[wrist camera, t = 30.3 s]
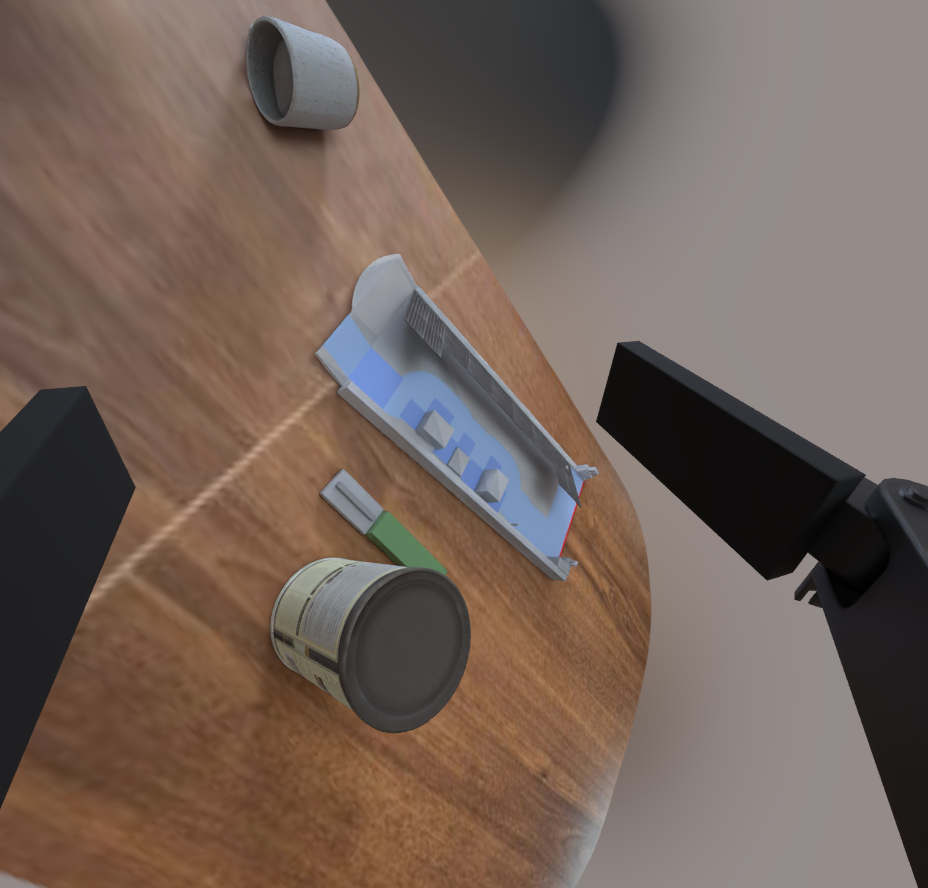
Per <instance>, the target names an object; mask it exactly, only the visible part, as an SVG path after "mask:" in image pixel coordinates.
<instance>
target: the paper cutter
mask: <svg viewBox="0 0 928 888" xmlns="http://www.w3.org/2000/svg"><path fill="white" fill-rule="evenodd" d="M315 355H316V356H317V358H318V359H319V360H320V361H321V363H322V364H323V365H324V366H325V368H326V369H327V370H328V371H329V373H330V374H331V375H332V376H333V378H334V379H335V380H336V381H337V383H338V384H339V385H340V386H341V387H340V389H339V390H338V391H337V392H336V393H337V394H338V395H340V396H341V397H342V398H343V399H344V400H345V401H346V402H348V403H349V404H350V405H351V406H352V407H353V408H355V409H356V410H357V411H358V412H359V413H360V414H361V415H363V416H364V417H365V418H366V419H367V420H368V421H370V422H371V423H372V424H373V425H374V426H375V427H376V428H378V429H379V430H380V431H381V432H382V433H383V434H385V435H386V436H387V437H388V438H389V439H390V440H391V441H393V442H394V443H395V444H396V445H397V446H398V447H400V448H401V449H402V450H403V451H404V452H405V453H406V454H408V455H409V456H410V457H411V458H412V459H413V460H414V461H416V462H417V463H418V464H419V465H420V466H421V467H423V468H424V469H425V470H426V471H427V472H428V473H429V474H431V475H432V476H433V477H434V478H435V479H436V480H438V481H439V482H440V483H441V484H442V485H443V486H444V487H446V488H447V489H448V490H449V491H450V492H451V493H453V494H454V495H455V496H456V497H457V498H458V499H459V500H461V501H462V502H463V503H464V504H465V505H466V506H468V507H469V508H470V509H471V510H472V511H473V512H474V513H476V514H477V515H478V516H479V517H480V518H481V519H482V520H484V521H485V522H486V523H487V524H488V525H489V526H491V527H492V528H493V529H494V530H495V531H496V532H497V533H499V534H500V535H501V536H502V537H503V538H504V539H506V540H507V541H508V542H509V543H510V544H511V545H512V546H514V547H515V548H516V549H517V550H518V551H519V552H521V553H522V554H523V555H524V556H525V557H526V558H527V559H529V560H530V561H531V562H532V563H533V564H534V565H536V566H537V567H538V568H539V569H540V570H541V571H542V572H544V573H545V574H546V575H547V576H548V577H549V578H551V579H552V580H560V581H566V578H567V576H568V574H569V571H570V567H571V566H577V563H578V562H577V561H572V560H571V559H570V558H566V557H560V556H561V553H562V550H563V547H564V544H565V541H566V538H567V535H568V531H569V528H570V525H571V522H572V519H573V516H574V513H575V510H576V507H577V504H578V505H579V506H580V507H581V504H580V500H579V497H580V494H581V491H582V488H583V485H584V482H585V481H586V479H588V478H593V475H598V473H599V471H598V470H597V468H596V467H589V466H588V465H587V464H586V465H576V464H575V463H574V462H573V461H572V459H571V458H570V457H569V456H568V455H567V454H566V453H565V451H564V450H563V449H562V448H561V447H560V446H559V445H558V443H557V442H556V441H555V440H554V439H553V438H552V437H551V436H550V434H549V433H548V432H547V431H546V430H545V429H544V428H543V426H542V425H541V424H540V423H539V422H538V421H537V420H536V418H535V417H534V416H533V415H532V414H531V413H530V412H529V410H528V409H527V408H526V407H525V406H524V405H523V404H522V403H521V401H520V400H519V399H518V398H517V397H516V396H515V395H514V393H513V392H512V391H511V390H510V389H509V388H508V387H507V385H506V384H505V383H504V382H503V381H502V380H501V379H500V378H499V376H498V375H497V374H496V373H495V372H494V371H493V370H492V368H491V367H490V366H489V365H488V364H487V363H486V362H485V360H484V359H483V358H482V357H481V356H480V355H479V354H478V352H477V351H476V350H475V349H474V348H473V347H472V346H471V345H470V343H469V342H468V341H467V340H466V339H465V338H464V337H463V335H462V334H461V333H460V332H459V331H458V330H457V329H456V327H455V326H454V325H453V324H452V323H451V322H450V321H449V320H448V318H447V317H446V316H445V315H444V314H443V313H442V312H441V310H440V309H439V308H438V307H437V306H436V305H435V304H434V302H433V301H432V300H431V299H430V298H429V297H428V296H427V295H426V293H425V292H424V291H423V290H422V289H421V288H420V287H419V286H418V287H417V286H416V284H415V282H414V280H413V278H412V276H411V274H410V272H409V270H408V268H407V266H406V264H405V263H404V261H403V259H402V257H401V255H400V254H393V255H387V256H384V257H381V258H379V259H377V260H375V261H374V262H373V263H371V264H370V265H369V266H368V267H367V268H366V269H365V270H364V272H363V273H362V274H361V276H360V278H359V280H358V282H357V284H356V287H355V290H354V294H353V300H352V311H351V312H350V314H349V315H348V316H347V317H346V318H345V319H344V321H343V322H342V323H341V324H340V325H339V326H338V328H337V329H336V330H335V331H334V332H333V334H332V335H331V336H330V337H329V338H328V339H327V341H326V342H325V343H324V344H323V345H322V347H321V348H320V349H319V350H318V351H317V352H316V354H315Z"/></svg>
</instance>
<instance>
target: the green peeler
mask: <svg viewBox="0 0 928 888" xmlns="http://www.w3.org/2000/svg"><path fill="white" fill-rule="evenodd" d="M319 494H320V495H321V496H322V497H323V498H324V499H325V500H326V501H327V502H328V503H329V504H330V505H331V506H332V507H333V508H334V509H335V510H337V511H338V512H339V513H340V514H341V515H342V516H343V517H344V518H345V519H346V520H347V521H348V522H349V523H350V524H351V525H352V526H354V527H355V528H356V529H357V530H358V531H359V532H360V533H361V534H365V535H366V536H367V537H368V538H369V539H370V540H371V541H372V542H373V543H375V544H376V545H377V546H378V547H379V548H380V549H381V550H382V551H383V552H384V553H385V554H386V555H387V556H388V557H389V558H390V559H391V560H393V561H394V562H395V563H396V564H397V565H398V566H402V567H425V568H430V569H433V570H436V571H438V572H440V573H442V574H444V575H446V573H447V572H448V571H447V570H446V569H445V568H444V567H443V566H442V565H441V564H440V563H439V562H438V561H437V560H436V559H435V558H434V557H433V556H432V555H431V554H430V553H429V552H428V551H427V550H426V549H425V548H424V547H423V546H422V545H421V544H420V543H419V542H418V541H417V540H416V539H415V538H414V537H413V536H412V535H411V534H410V533H409V532H408V531H407V530H406V529H405V527H404V526H403V525H402V524H401V523H400V522H399V521H398V520H397V519H396V518H395V517H394V516H393V515H392V514H391V513H390V512H389V511H383V510H384V509H383V508H382V507H381V506H380V505H379V504H378V503H377V502H376V501H375V500H374V499H373V498H372V497H371V496H370V495H369V494H368V493H367V492H366V491H365V490H364V489H363V488H362V487H361V486H360V485H359V484H358V483H357V482H356V481H355V480H354V479H353V478H352V477H351V476H350V475H349V474H348V473H347V472H346V471H345V470H344V469H342V470H340V471H339V472H338V473H337V474H336V475H335V476H334V477H333V479H332V480H331V481H330V482H329V483H328V484H327V485H326V487H325V488H324V489H323V490H322V491H321V492H320V493H319Z"/></svg>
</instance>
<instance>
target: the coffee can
mask: <svg viewBox="0 0 928 888" xmlns="http://www.w3.org/2000/svg"><path fill="white" fill-rule="evenodd" d="M270 633H271V640H272V644H273V648H274V650H275V652H276V654H277V655H278V657H279V658H280V660H281V661H282V662H283V663H284V664H285V665H286V666H287V667H288V668H290V669H291V670H293V671H295V672H296V673H298V674H300V675H302V676H303V677H304V678H306V679H307V680H309V681H310V682H312V683H313V684H315V685H316V686H318V687H319V688H321V689H322V690H324V691H325V692H327V693H328V694H329V695H331V696H332V697H334V698H335V699H336V700H338V701H339V702H341V703H342V704H344V705H345V706H347V707H348V708H350V709H351V710H353V711H354V712H355V713H356V714H357V716H358V717H359V718H360V719H361V720H363V721H364V722H365V723H366V724H368V725H369V726H371V727H372V728H374V729H376V730H379V731H382V732H387V733H401V732H407V731H410V730H413V729H416V728H418V727H420V726H422V725H424V724H425V723H427V722H428V721H429V720H430V719H432V718H433V717H434V716H435V715H436V714H438V713H439V711H440V710H441V709H442V708H443V707H444V706H445V705H446V704H447V702H448V701H449V700H450V698H451V697H452V695H453V694H454V692H455V691H456V689H457V687H458V685H459V683H460V680H461V678H462V676H463V673H464V670H465V667H466V664H467V660H468V655H469V650H470V639H471V628H470V619H469V614H468V609H467V606H466V603H465V601H464V598H463V596H462V595H461V593H460V591H459V589H458V588H457V587H456V585H455V584H454V583H453V582H452V581H451V580H450V579H449V578H448V577H447V576H445V575H444V574H442V573H440V572H438V571H436V570H433V569H430V568H425V567H402V566H394V565H386V564H379V563H371V562H362V561H354V560H348V559H344V558H325V559H320V560H317V561H314V562H312V563H310V564H308V565H306V566H305V567H303V568H302V569H300V570H299V571H298V572H296V573H295V574H294V575H293V576H292V577H291V578H290V579H289V580H288V582H287V583H286V584H285V586H284V587H283V588H282V590H281V592H280V594H279V596H278V597H277V599H276V601H275V605H274V608H273V611H272V616H271V622H270Z"/></svg>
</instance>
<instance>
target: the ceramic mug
mask: <svg viewBox="0 0 928 888" xmlns="http://www.w3.org/2000/svg"><path fill="white" fill-rule="evenodd" d="M246 61H247V72H248V80H249V84H250V88H251V92H252V95H253V97H254V100H255V103H256V105H257V107H258V109H259V110H260V112H261V114H262V115H263V116H264V118H265V119H266V120H267V121H269V122H270V123H272V124H274V125H277V126H288V127H298V128H313V129H322V130H336V129H341V128H344V127H346V126H348V125H349V124H350V122H351V121H352V120H353V118H354V116H355V114H356V111H357V108H358V103H359V93H360V92H359V78H358V74H357V70H356V67H355V64H354V62H353V60H352V57H351V56H350V54H349V53H348V51H347V50H346V49H345V48H344V47H343V46H342V45H340V44H339V43H337V42H335V41H334V40H332V39H330V38H328V37H326V36H324V35H320V34H317V33H314V32H310V31H308V30H305V29H302V28H300V27H297V26H294V25H292V24H289V23H286V22H284V21H281V20H279V19H276V18H272V17H268V16H262V17H260V18H258V19H257V20H256V21H255V22H254V23H253V24H252V25H251V26H250V28H249V34H248V41H247V48H246Z"/></svg>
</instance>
